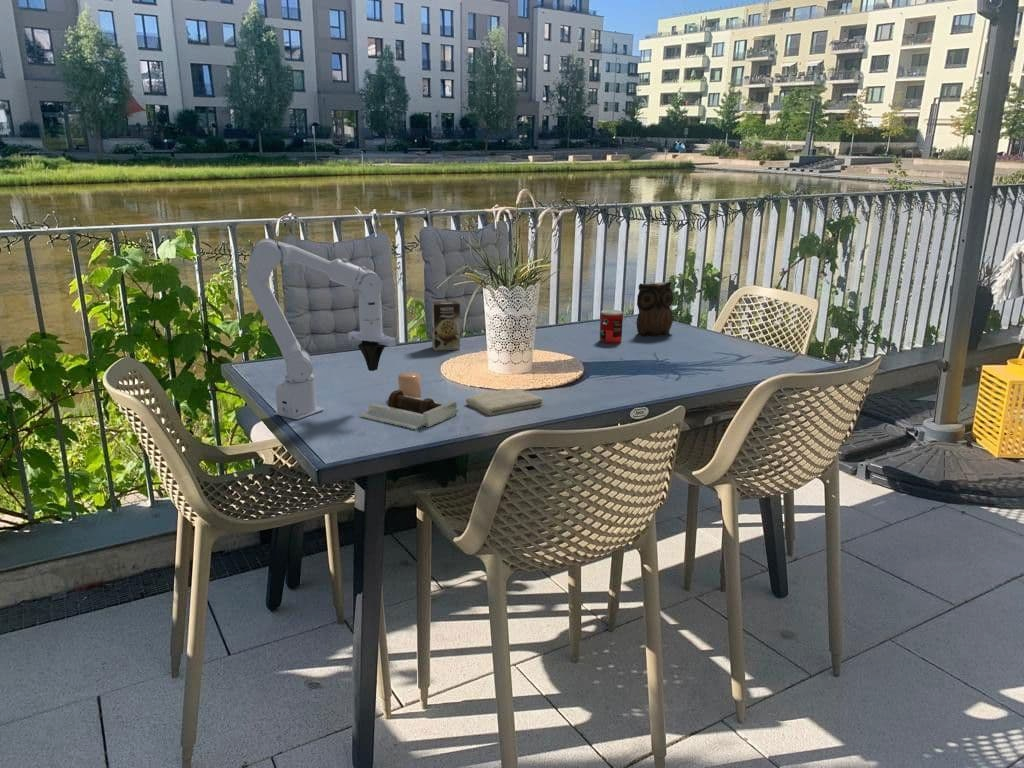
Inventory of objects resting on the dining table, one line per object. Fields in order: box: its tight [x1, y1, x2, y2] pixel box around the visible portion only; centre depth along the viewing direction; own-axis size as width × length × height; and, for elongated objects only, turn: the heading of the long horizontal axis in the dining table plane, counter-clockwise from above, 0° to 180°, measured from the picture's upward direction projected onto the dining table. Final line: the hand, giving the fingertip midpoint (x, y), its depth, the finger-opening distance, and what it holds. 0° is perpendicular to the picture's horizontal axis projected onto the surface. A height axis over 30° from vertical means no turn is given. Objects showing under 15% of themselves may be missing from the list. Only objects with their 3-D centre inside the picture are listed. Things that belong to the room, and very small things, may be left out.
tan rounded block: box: [397, 371, 422, 398], centre depth 206 cm, size 6×6×6 cm
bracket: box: [359, 395, 460, 431], centre depth 191 cm, size 18×20×4 cm
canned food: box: [599, 309, 624, 345], centre depth 273 cm, size 8×8×11 cm
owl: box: [636, 281, 675, 337], centre depth 284 cm, size 13×13×20 cm
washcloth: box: [465, 387, 544, 416], centre depth 200 cm, size 12×18×3 cm, turn 124°
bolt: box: [387, 389, 442, 414], centre depth 192 cm, size 6×5×15 cm
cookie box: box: [431, 300, 461, 352], centre depth 260 cm, size 9×6×16 cm
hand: (372, 369), depth 196 cm, fingers closed
